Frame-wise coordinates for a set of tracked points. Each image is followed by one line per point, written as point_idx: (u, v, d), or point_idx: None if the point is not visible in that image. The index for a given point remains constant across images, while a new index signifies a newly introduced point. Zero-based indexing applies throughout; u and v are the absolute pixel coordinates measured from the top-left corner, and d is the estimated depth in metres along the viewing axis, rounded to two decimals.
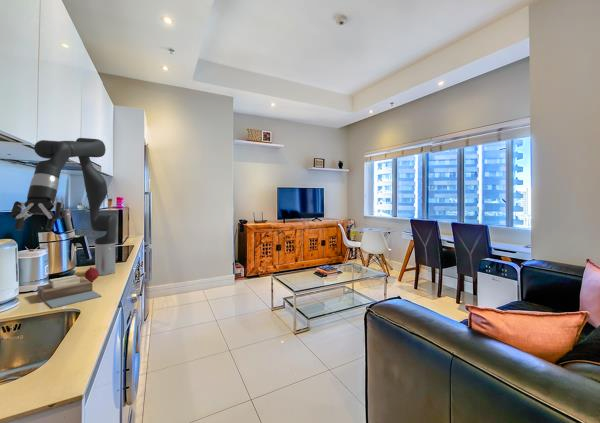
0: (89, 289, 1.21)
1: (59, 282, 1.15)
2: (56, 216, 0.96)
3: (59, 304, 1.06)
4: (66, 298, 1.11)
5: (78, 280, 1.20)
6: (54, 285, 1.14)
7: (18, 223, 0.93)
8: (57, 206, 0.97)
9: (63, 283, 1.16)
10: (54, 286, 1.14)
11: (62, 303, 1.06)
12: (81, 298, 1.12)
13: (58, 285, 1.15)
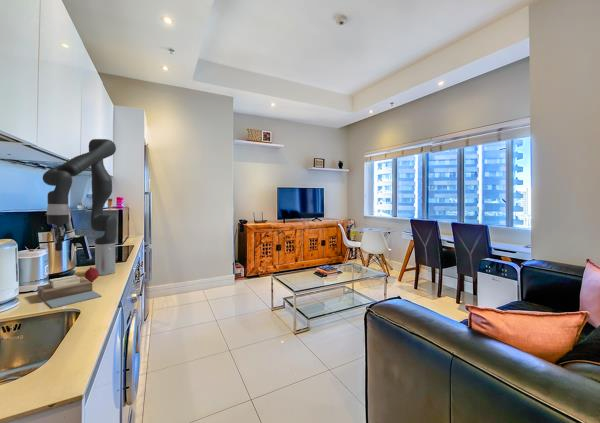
0: (89, 289, 1.21)
1: (59, 282, 1.15)
2: (56, 241, 1.21)
3: (59, 304, 1.06)
4: (66, 298, 1.11)
5: (78, 280, 1.20)
6: (54, 285, 1.14)
7: (55, 246, 1.22)
8: (57, 234, 1.19)
9: (63, 283, 1.16)
10: (54, 286, 1.14)
11: (62, 303, 1.06)
12: (81, 298, 1.12)
13: (58, 285, 1.15)
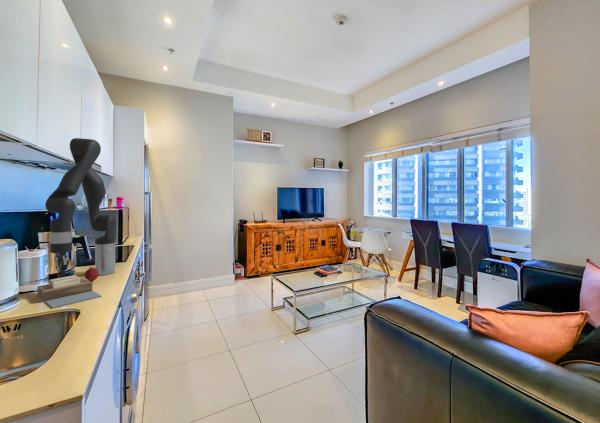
0: (89, 289, 1.21)
1: (59, 282, 1.15)
2: (59, 270, 1.18)
3: (59, 304, 1.06)
4: (66, 298, 1.11)
5: (78, 280, 1.20)
6: (54, 285, 1.13)
7: (58, 274, 1.20)
8: (60, 264, 1.17)
9: (63, 283, 1.16)
10: (54, 286, 1.13)
11: (62, 303, 1.06)
12: (81, 298, 1.12)
13: (58, 285, 1.14)
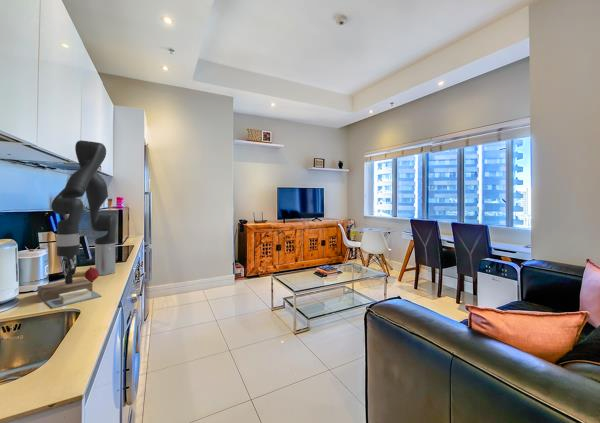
0: (89, 289, 1.21)
1: None
2: (67, 274, 1.12)
3: (59, 304, 1.06)
4: None
5: None
6: None
7: (65, 279, 1.14)
8: (68, 267, 1.11)
9: None
10: None
11: (62, 303, 1.06)
12: None
13: None
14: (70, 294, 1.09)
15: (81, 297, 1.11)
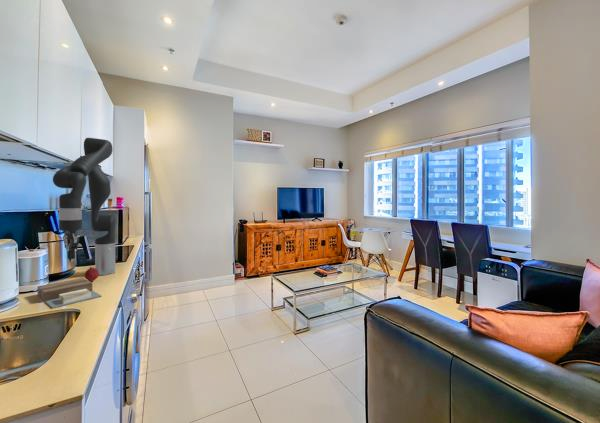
0: (89, 289, 1.21)
1: None
2: None
3: (59, 304, 1.06)
4: None
5: None
6: None
7: (67, 254, 1.12)
8: (70, 242, 1.09)
9: None
10: None
11: (62, 303, 1.06)
12: None
13: None
14: (70, 294, 1.09)
15: (81, 297, 1.11)
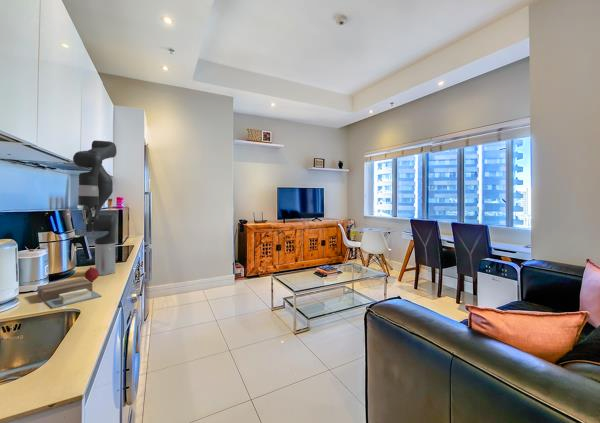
0: (89, 289, 1.21)
1: None
2: (88, 222, 1.23)
3: (59, 304, 1.06)
4: None
5: None
6: None
7: None
8: (89, 215, 1.21)
9: None
10: None
11: (62, 303, 1.06)
12: None
13: None
14: (70, 294, 1.09)
15: (81, 297, 1.11)
